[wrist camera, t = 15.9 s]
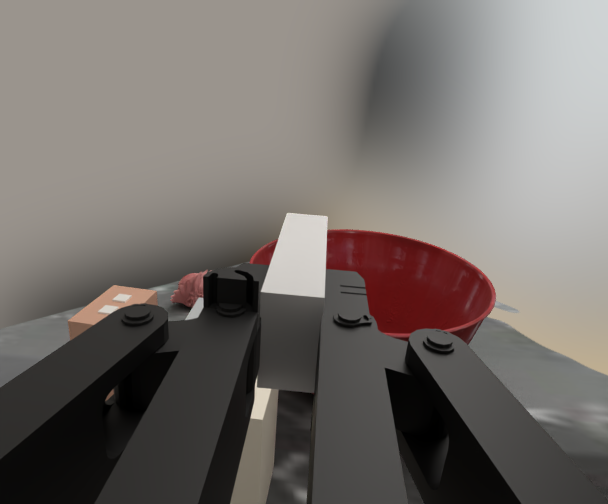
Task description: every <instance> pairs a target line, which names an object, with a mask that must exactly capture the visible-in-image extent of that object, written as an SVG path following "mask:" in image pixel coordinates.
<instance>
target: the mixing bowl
mask: <svg viewBox="0 0 608 504" xmlns="http://www.w3.org/2000/svg"><path fill="white" fill-rule="evenodd" d="M277 242H278V239H277V240H274V241H272V242H270V243H268V244H266V245H265V246H263V247H262V248H260V249H259V250H258V251H257V252H256V253H255V254H254V255H253V257H252V259H251V260H250V263H251V264H262V265H270V263H271V260H272V257H273V254H274V251H275V248H276V245H277ZM326 269H331V270H343V271H354V272H357V273H358V274H359V275H360V276H361V277H362V278H363V279H364V281H365V289H366V296H367V301H368V307H369V314H370V315H371V316H373V317H374V319H375V321H376V322H377V327H378V330H379V331H380V332H382V333H384V334H386V335H388V336H390V337H393V338H396V339H400V340H403V341H407V342H408V339H409V337H410V334H411V333H413V332H414V331H416V330H420V329H426V328H427V329H440V330H444V331H447V332H449V333H451V334H453V335H455V336H457V337H459V338H460V339H461V340H463V341H464V342H465V343H466V344H467V345H468V344H469V343H470V341H471V340H472V338H473V336H474V335H475V333H476V331H477V330H478V328H479V326H480V325H481V323H482V321H483V320H484V318H486V317H487V316H488V315H489V314H490V312H491V311H492V309H493V308H494V305H495V301H496V293H495V289H494V287H493V285H492V283H491V282H490V280H489V279H488V278H487V276H486V275H485V274H484V273H483V272H482V271H480V270H479V269H478V268H477V267H475V266H474V265H473V264H471V263H470V262H468V261H466V260H465V259H463V258H461V257H459V256H458V255H456V254H454V253H451V252H449V251H447V250H445V249H442V248H440V247H437V246H434V245H431V244H428V243H426V242H422V241H419V240H415V239H411V238H407V237H403V236H398V235H393V234H388V233H381V232H373V231H363V230H348V229H346V230H327V248H326ZM312 394H314V393H312Z"/></svg>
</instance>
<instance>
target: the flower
mask: <svg viewBox="0 0 608 504" xmlns="http://www.w3.org/2000/svg"><path fill="white" fill-rule="evenodd" d="M211 271H212V270H211ZM206 272H207V270H206V271H205V272H204V273H201V272H200V273H199V274H197V273H192V274H188V275H186V276H184V277H183V278H182V280H180V282H179V284H178V285H179V286H178V287H179V288H178V289H177V290H176V291H174V293H175V294H174V295H172V296H171V297H172V298H173V299H171V300H170V301H173V302H172V303H175V302H177V303H183V304H184V305H186V306H188V307H192V308H193V306H194V305H195V303H196V301H197V300H198V298H203V276H204V275H205V274H206Z"/></svg>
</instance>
